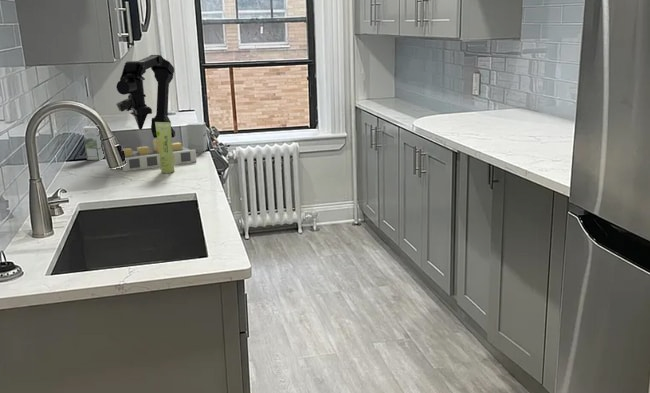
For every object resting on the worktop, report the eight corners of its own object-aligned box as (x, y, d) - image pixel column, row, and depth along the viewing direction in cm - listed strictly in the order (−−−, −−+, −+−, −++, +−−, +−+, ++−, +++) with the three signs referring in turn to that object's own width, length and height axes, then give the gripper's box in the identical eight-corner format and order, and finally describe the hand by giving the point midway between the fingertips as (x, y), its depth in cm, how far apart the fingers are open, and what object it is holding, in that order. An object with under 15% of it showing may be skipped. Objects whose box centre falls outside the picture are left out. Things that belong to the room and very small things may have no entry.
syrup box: (105, 157, 267) (101, 124, 263) (99, 160, 262) (95, 127, 258) (92, 157, 268) (88, 124, 264) (86, 160, 262) (82, 127, 258)
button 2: (154, 154, 259) (153, 139, 258) (163, 153, 261) (162, 138, 260) (157, 155, 256) (155, 140, 254) (166, 154, 258) (165, 139, 256)
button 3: (138, 162, 257) (136, 147, 255) (147, 160, 259) (146, 146, 257) (141, 163, 253) (139, 148, 252) (150, 162, 255) (149, 147, 254)
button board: (112, 163, 256) (111, 153, 255) (181, 154, 271) (181, 145, 270) (120, 169, 244) (119, 159, 243) (192, 159, 259) (192, 150, 258)
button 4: (121, 164, 253) (119, 149, 251) (131, 163, 255) (129, 147, 253) (123, 166, 250) (122, 150, 248) (133, 164, 252) (132, 149, 250)
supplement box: (204, 152, 275) (202, 124, 272) (188, 152, 275) (185, 124, 272) (207, 149, 282) (205, 121, 279) (191, 149, 282) (189, 122, 279)
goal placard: (122, 170, 242) (121, 158, 240) (195, 161, 257) (194, 149, 255) (123, 171, 241) (122, 158, 239) (196, 161, 256) (195, 149, 254)
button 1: (171, 158, 264) (169, 143, 262) (180, 156, 266) (178, 142, 264) (174, 159, 260) (172, 144, 259) (183, 158, 262) (181, 143, 261)
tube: (160, 173, 235) (155, 123, 230) (159, 171, 240) (154, 121, 234) (175, 172, 237) (170, 122, 231) (174, 169, 241) (169, 120, 236)
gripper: (111, 91, 259) (115, 128, 263) (122, 95, 243) (126, 134, 247) (138, 90, 264) (141, 125, 268) (150, 93, 249) (154, 131, 253)
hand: (140, 129), depth 259 cm, fingers closed
